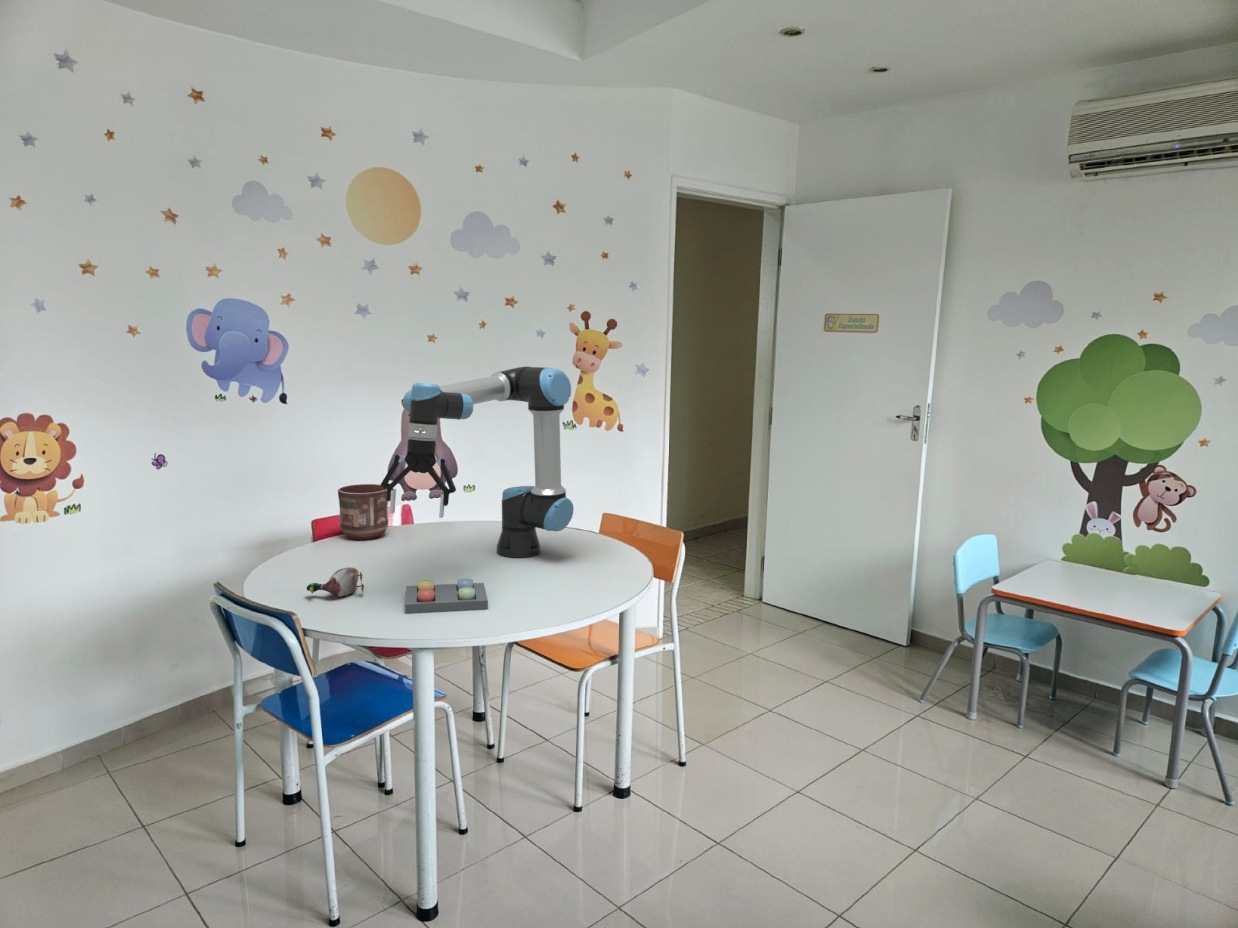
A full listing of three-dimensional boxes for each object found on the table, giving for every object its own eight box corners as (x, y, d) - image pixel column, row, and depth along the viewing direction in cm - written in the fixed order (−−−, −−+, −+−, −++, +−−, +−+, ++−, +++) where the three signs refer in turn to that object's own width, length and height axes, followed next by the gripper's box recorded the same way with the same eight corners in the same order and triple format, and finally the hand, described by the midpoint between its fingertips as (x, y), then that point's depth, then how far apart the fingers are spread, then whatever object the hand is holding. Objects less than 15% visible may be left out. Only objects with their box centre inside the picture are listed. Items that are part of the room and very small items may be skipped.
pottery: (381, 543, 278) (380, 494, 275) (332, 541, 278) (330, 492, 275) (395, 531, 295) (395, 484, 293) (349, 529, 296) (348, 483, 293)
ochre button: (433, 590, 226) (433, 579, 225) (434, 595, 221) (433, 584, 221) (418, 591, 224) (417, 580, 224) (417, 596, 220) (417, 585, 220)
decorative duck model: (300, 579, 215) (316, 562, 230) (304, 605, 217) (320, 586, 232) (356, 575, 217) (368, 557, 231) (360, 600, 218) (371, 581, 233)
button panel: (483, 590, 231) (483, 582, 231) (487, 609, 216) (487, 600, 215) (406, 594, 226) (406, 585, 225) (405, 613, 210) (405, 604, 210)
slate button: (472, 588, 228) (472, 578, 228) (473, 593, 224) (473, 582, 223) (457, 589, 227) (457, 578, 227) (457, 594, 223) (457, 583, 222)
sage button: (474, 597, 221) (474, 586, 220) (475, 603, 216) (475, 591, 216) (458, 598, 219) (458, 587, 219) (459, 603, 215) (459, 592, 215)
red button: (434, 599, 218) (434, 588, 217) (434, 605, 214) (434, 593, 213) (417, 600, 217) (417, 589, 216) (417, 606, 213) (417, 594, 212)
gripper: (372, 435, 211) (367, 513, 213) (465, 444, 213) (459, 520, 215) (379, 434, 219) (374, 509, 221) (469, 442, 220) (463, 516, 222)
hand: (416, 515), depth 218 cm, fingers open, 13 cm apart
